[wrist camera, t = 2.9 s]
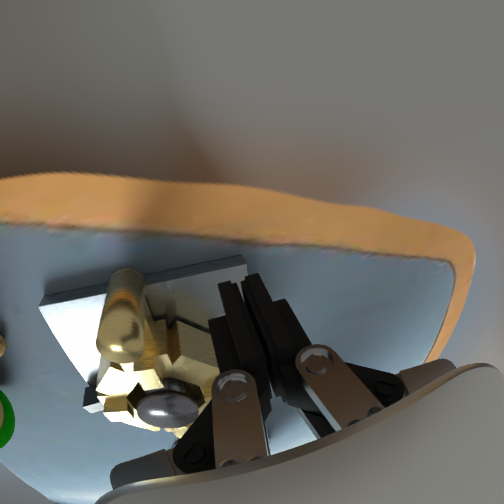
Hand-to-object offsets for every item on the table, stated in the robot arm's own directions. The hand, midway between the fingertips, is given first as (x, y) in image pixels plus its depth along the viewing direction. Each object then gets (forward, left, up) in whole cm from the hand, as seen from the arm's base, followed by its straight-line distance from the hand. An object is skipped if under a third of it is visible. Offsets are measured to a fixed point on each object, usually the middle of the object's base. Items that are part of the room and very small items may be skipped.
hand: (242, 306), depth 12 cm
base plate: (-8, +6, -6) cm, 12 cm away
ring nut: (-6, +6, -5) cm, 10 cm away
